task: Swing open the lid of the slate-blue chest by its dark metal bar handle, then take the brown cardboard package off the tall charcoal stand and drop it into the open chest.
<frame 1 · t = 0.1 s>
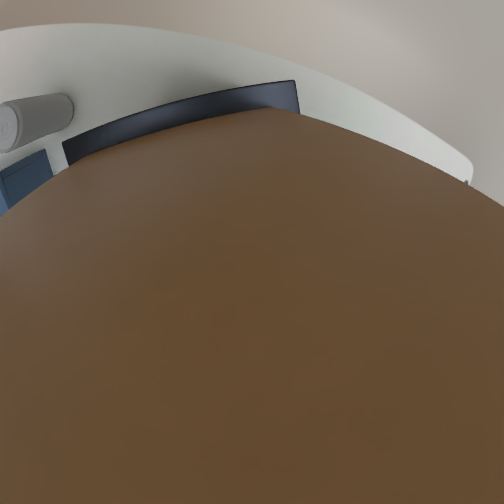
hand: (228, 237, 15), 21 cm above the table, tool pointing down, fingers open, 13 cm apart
package: (191, 195, 12), point 22 cm above the table, touching stand
chest: (21, 216, 32), on the table
beverage can: (59, 111, 27), on the table
stand: (206, 130, 31), on the table
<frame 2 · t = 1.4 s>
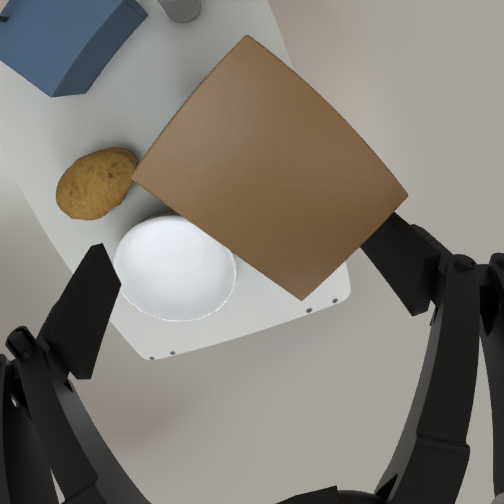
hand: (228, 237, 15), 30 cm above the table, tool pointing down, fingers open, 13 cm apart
package: (254, 140, 20), point 22 cm above the table, touching gripper
chest: (78, 29, 28), on the table
lid: (28, 13, 15), point 14 cm above the table, hinge at 0.0°
bowl: (178, 247, 49), on the table
potato: (106, 174, 41), on the table
beverage can: (184, 9, 29), on the table
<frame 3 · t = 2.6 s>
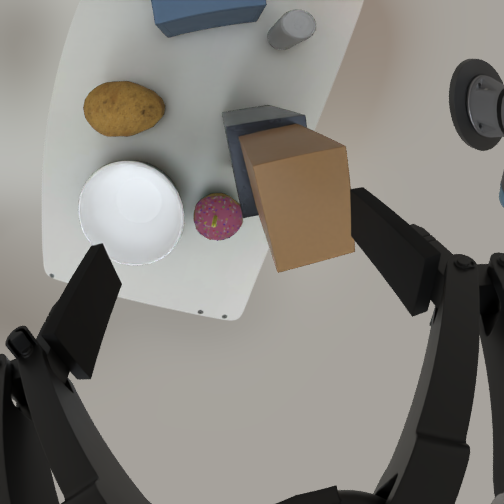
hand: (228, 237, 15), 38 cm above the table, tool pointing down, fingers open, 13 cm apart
package: (276, 166, 29), point 22 cm above the table, touching stand
bowl: (139, 199, 51), on the table
potato: (130, 107, 43), on the table
beverage can: (280, 38, 39), on the table
stand: (250, 136, 48), on the table
cupcake: (217, 206, 54), on the table
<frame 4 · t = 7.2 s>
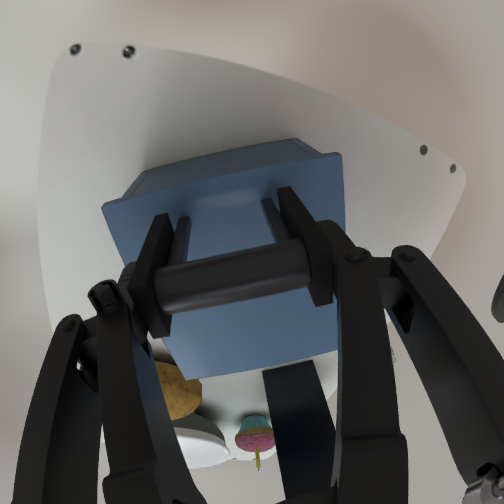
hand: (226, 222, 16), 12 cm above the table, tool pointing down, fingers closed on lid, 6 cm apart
chest: (236, 231, 30), on the table
lid: (251, 330, 18), point 14 cm above the table, hinge at 0.0°, touching gripper
bowl: (178, 417, 49), on the table
potato: (157, 366, 40), on the table
stand: (290, 382, 45), on the table
cupcake: (254, 419, 52), on the table
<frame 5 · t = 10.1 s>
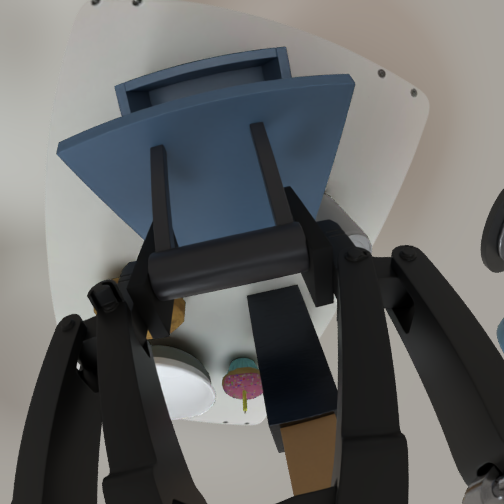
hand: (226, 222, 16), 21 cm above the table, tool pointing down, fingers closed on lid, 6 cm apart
package: (310, 433, 29), point 22 cm above the table, touching stand
chest: (217, 136, 33), on the table
lid: (233, 243, 19), point 19 cm above the table, hinge at 40.3°, touching gripper
bowl: (165, 359, 52), on the table
potato: (144, 288, 43), on the table
beverage can: (317, 208, 39), on the table
stand: (276, 313, 48), on the table
cupcake: (243, 364, 54), on the table
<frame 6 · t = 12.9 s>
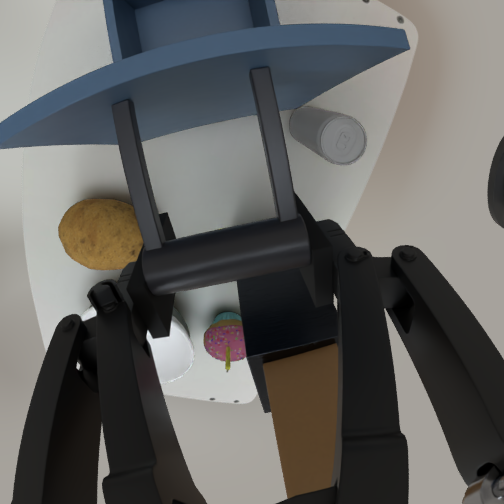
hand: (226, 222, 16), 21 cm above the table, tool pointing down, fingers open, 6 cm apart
package: (305, 379, 24), point 22 cm above the table, touching stand
chest: (199, 48, 28), on the table
lid: (215, 164, 16), point 20 cm above the table, hinge at 78.4°
bowl: (141, 313, 46), on the table
potato: (117, 219, 38), on the table
beverage can: (306, 124, 34), on the table
stand: (264, 252, 43), on the table
cupcake: (228, 320, 49), on the table
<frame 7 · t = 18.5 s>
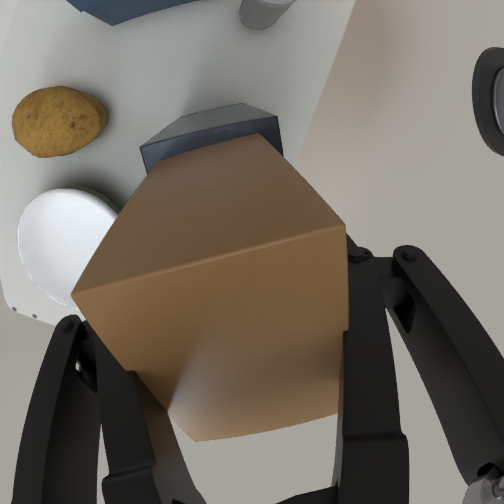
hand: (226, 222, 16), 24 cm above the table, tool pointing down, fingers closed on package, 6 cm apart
package: (225, 208, 18), point 22 cm above the table, touching gripper, stand
bowl: (91, 228, 40), on the table
potato: (71, 117, 31), on the table
beverage can: (257, 15, 28), on the table
stand: (219, 145, 37), on the table
when the fingers open (9 cm above the table, at t = 29.7 s): package drops 7 cm, resting on chest.
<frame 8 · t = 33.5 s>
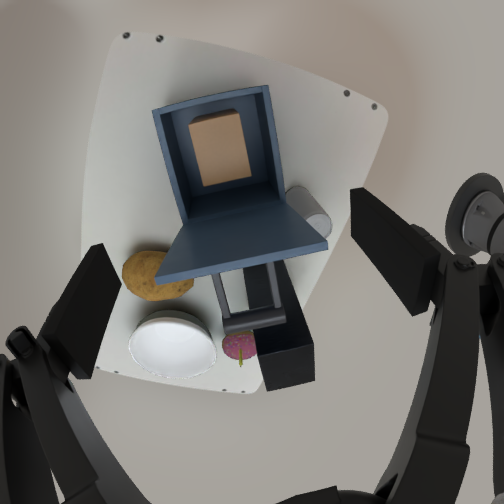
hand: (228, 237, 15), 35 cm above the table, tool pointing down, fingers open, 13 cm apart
package: (219, 136, 43), point 1 cm above the table, touching chest
chest: (221, 144, 45), on the table
lid: (244, 265, 34), point 20 cm above the table, hinge at 78.4°
bowl: (174, 325, 64), on the table
potato: (161, 261, 55), on the table
beverage can: (296, 198, 52), on the table
stand: (266, 283, 60), on the table
cupcake: (239, 330, 67), on the table
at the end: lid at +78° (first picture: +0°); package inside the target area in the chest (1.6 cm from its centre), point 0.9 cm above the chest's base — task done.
